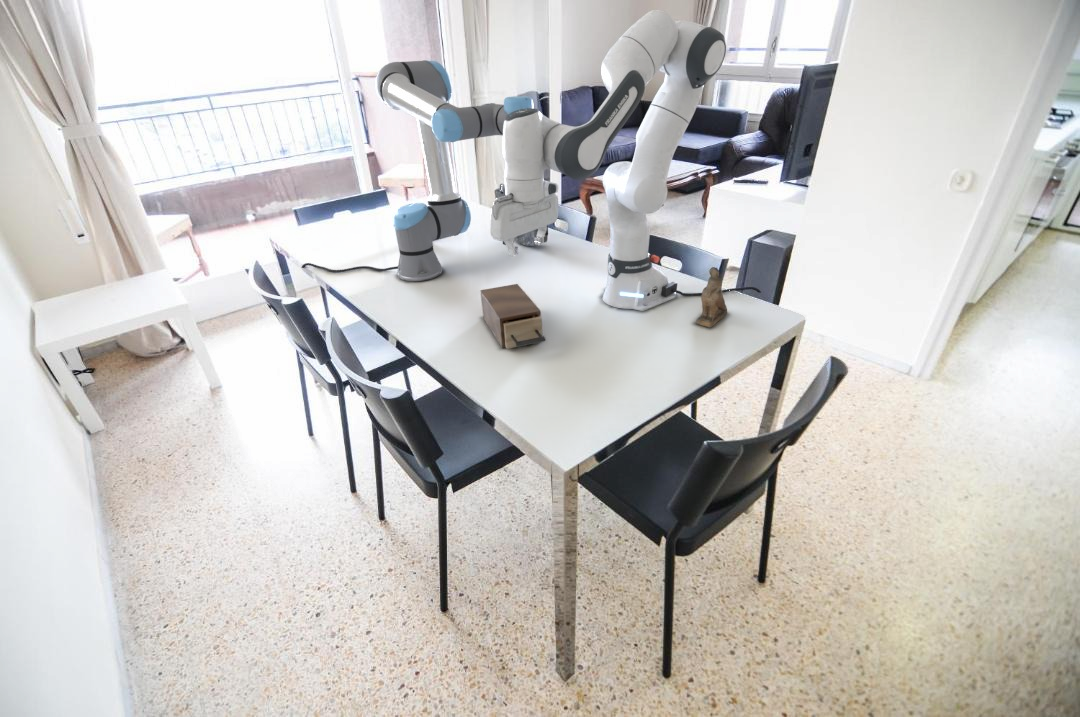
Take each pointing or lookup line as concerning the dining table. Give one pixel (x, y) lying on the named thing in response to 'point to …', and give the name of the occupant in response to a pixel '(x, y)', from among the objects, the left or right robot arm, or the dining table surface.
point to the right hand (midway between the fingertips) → (526, 249)
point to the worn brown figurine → (712, 301)
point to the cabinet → (505, 308)
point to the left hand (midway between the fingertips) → (525, 239)
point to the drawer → (523, 331)
